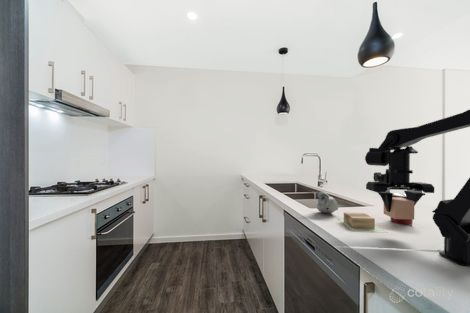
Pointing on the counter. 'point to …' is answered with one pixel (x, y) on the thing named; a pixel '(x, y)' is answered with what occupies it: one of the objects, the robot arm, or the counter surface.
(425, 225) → the counter surface
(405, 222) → the soda can
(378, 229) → the build plate
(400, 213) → the terracotta block
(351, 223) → the oak block
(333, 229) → the counter surface
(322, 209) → the grey rounded lump
